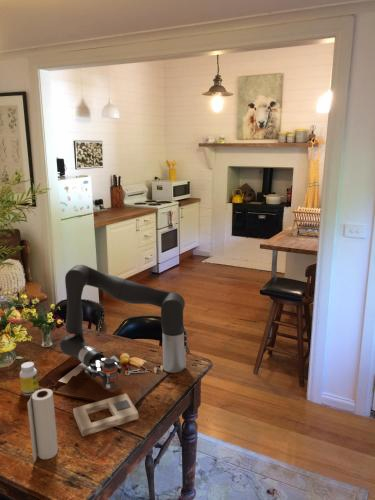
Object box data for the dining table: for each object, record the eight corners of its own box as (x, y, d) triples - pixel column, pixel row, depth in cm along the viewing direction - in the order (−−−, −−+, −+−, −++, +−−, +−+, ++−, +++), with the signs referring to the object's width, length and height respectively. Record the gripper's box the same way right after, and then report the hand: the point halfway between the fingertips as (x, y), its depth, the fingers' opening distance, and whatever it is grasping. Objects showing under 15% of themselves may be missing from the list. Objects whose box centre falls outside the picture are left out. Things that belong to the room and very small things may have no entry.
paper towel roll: (57, 444, 134) (52, 386, 128) (58, 457, 128) (52, 397, 123) (34, 449, 131) (27, 390, 126) (33, 463, 126) (27, 401, 120)
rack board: (126, 399, 157) (126, 392, 157) (138, 418, 146) (138, 411, 145) (73, 414, 148) (73, 407, 148) (82, 436, 137) (81, 429, 136)
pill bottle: (33, 397, 159) (30, 370, 156) (18, 395, 160) (15, 368, 157) (42, 387, 165) (39, 361, 162) (27, 385, 166) (24, 359, 163)
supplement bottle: (111, 392, 157) (109, 366, 154) (99, 387, 160) (98, 361, 158) (121, 385, 162) (120, 359, 159) (110, 380, 165) (108, 355, 162)
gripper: (74, 355, 164) (96, 372, 152) (105, 343, 174) (128, 358, 162) (76, 372, 166) (97, 390, 154) (106, 359, 176) (129, 375, 164)
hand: (113, 374), depth 158 cm, fingers closed on supplement bottle, 6 cm apart
